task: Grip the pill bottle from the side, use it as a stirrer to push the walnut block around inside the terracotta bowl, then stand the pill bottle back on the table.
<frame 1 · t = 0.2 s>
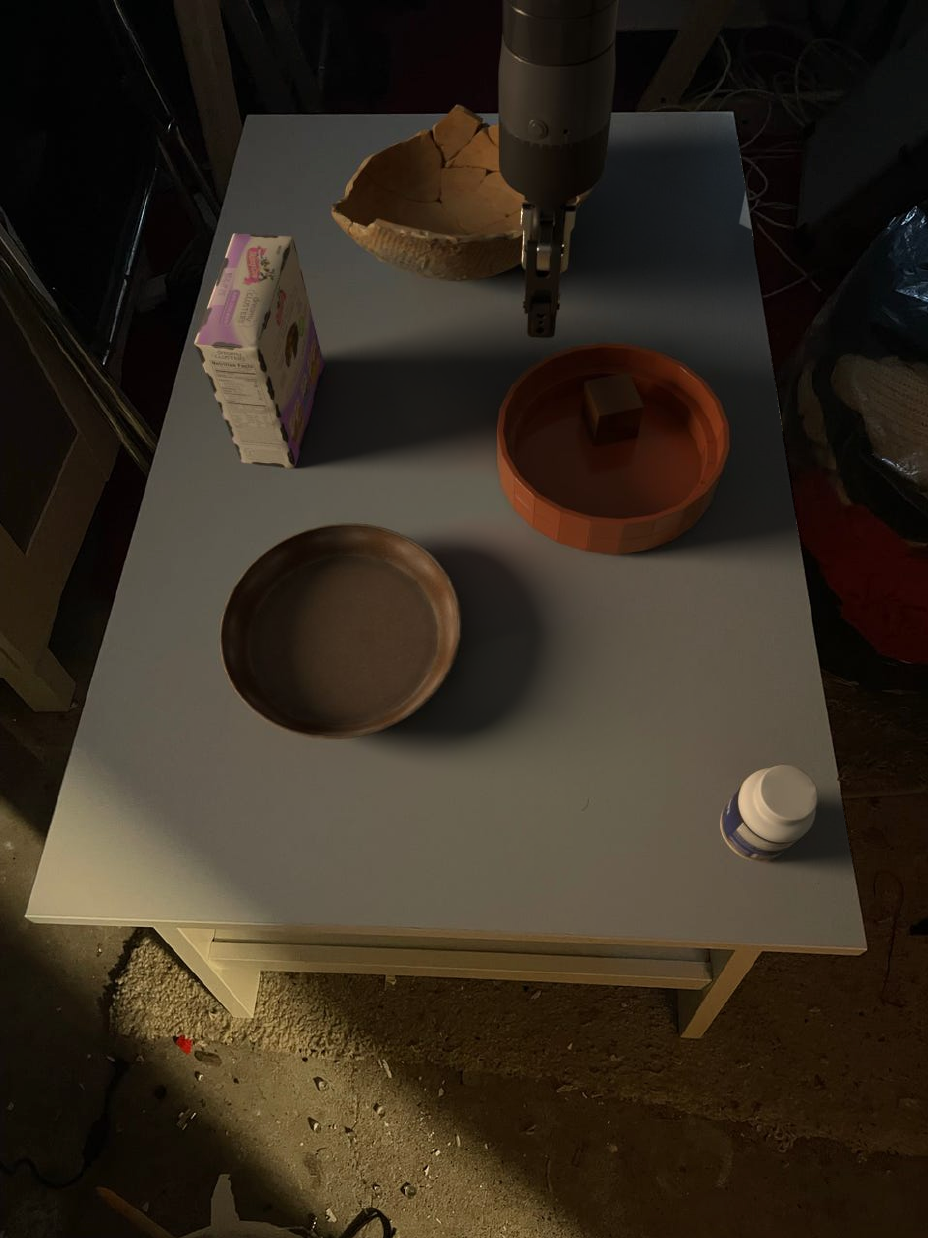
hand: (544, 296, 73), 18 cm above the table, tool pointing down, fingers open, 8 cm apart
pill bottle: (752, 828, 70), on the table
bowl: (606, 464, 87), on the table
ceramic bowl: (469, 242, 103), on the table
candy box: (284, 414, 91), on the table
block: (608, 424, 89), point 1 cm above the table, touching bowl
plant saucer: (346, 641, 79), on the table
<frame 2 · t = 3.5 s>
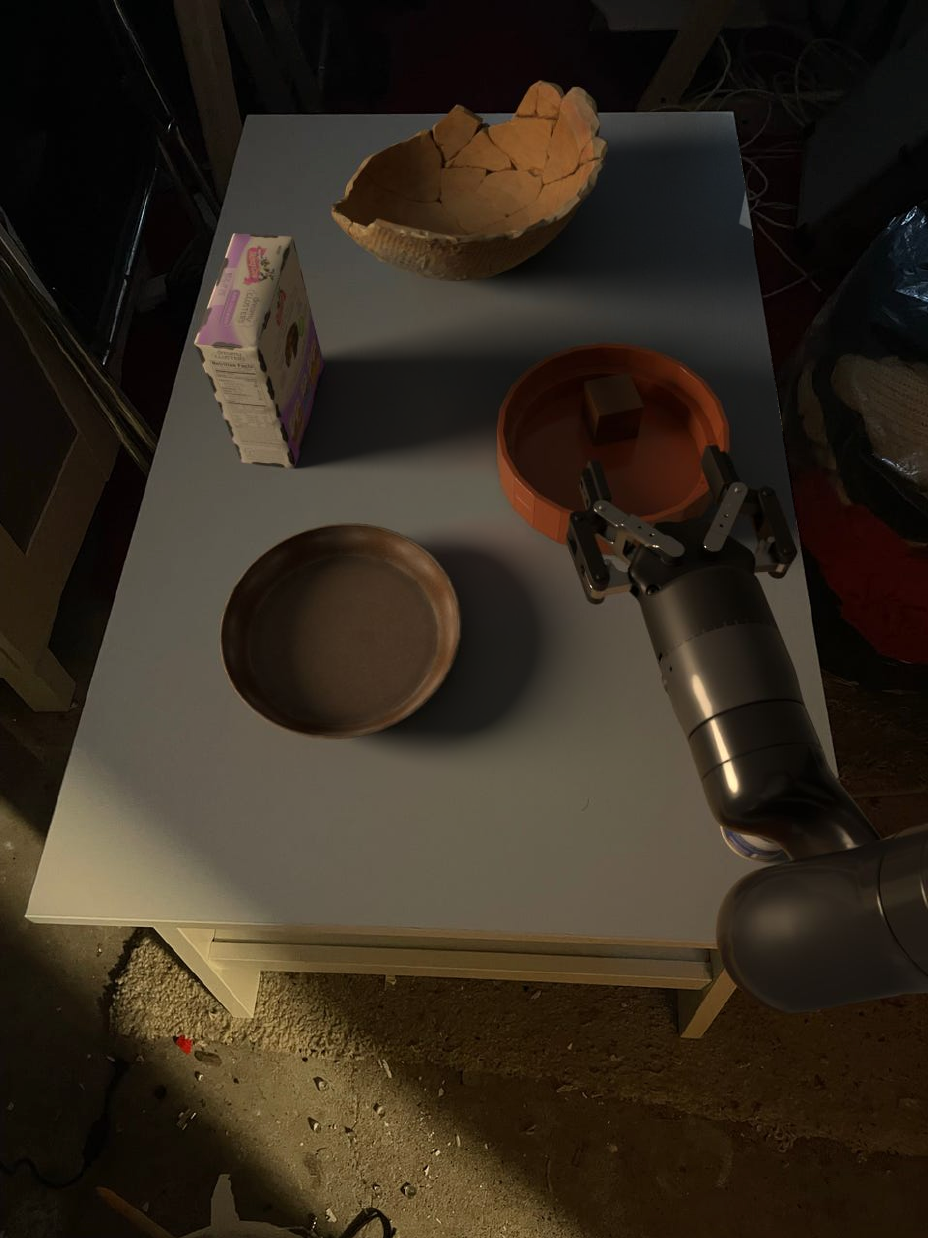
hand: (649, 459, 63), 20 cm above the table, tool horizontal, fingers open, 8 cm apart
nothing on the table moved.
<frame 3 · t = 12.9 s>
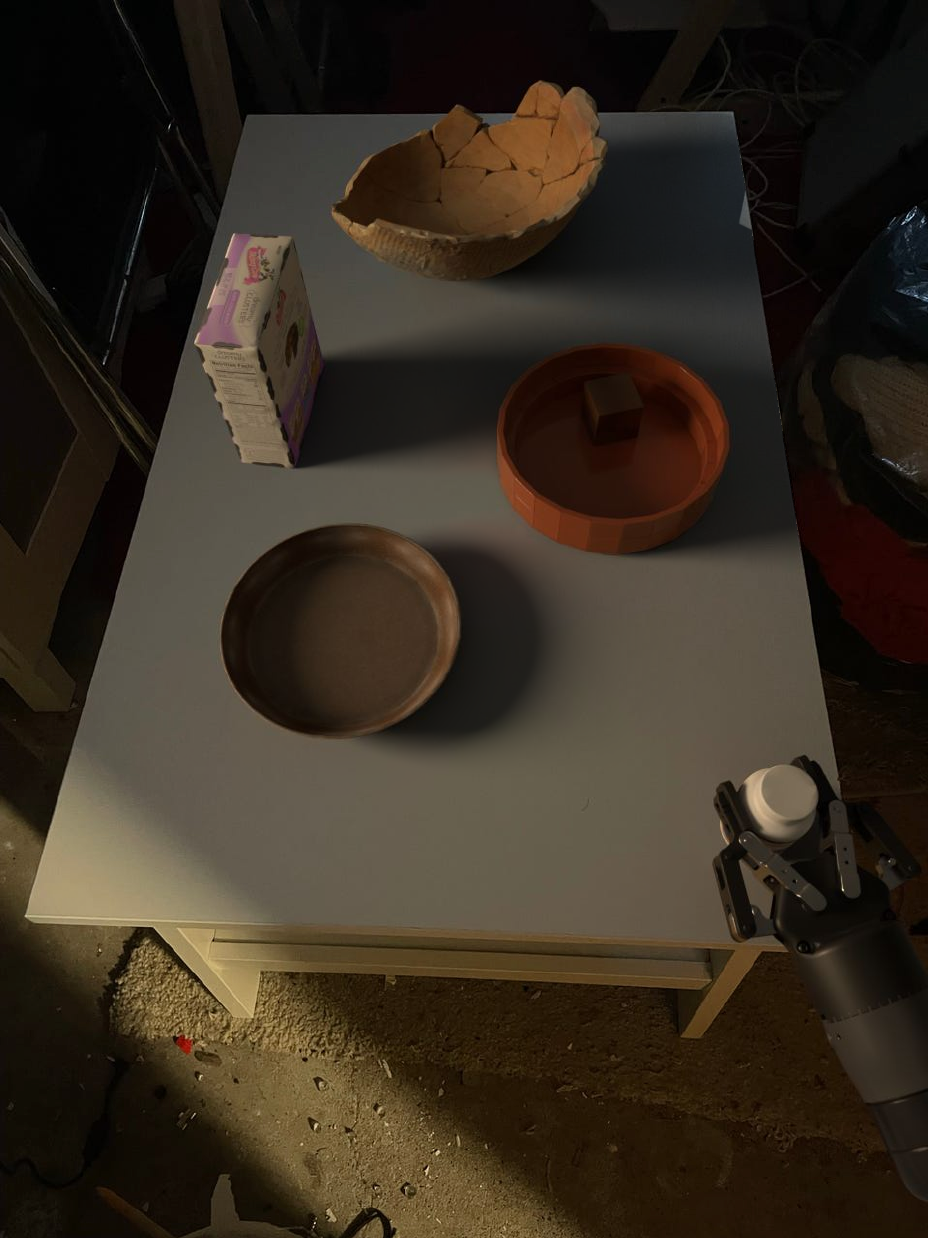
hand: (759, 773, 65), 7 cm above the table, tool horizontal, fingers closed on pill bottle, 5 cm apart
pill bottle: (752, 828, 70), on the table, touching gripper
everything else where it was.
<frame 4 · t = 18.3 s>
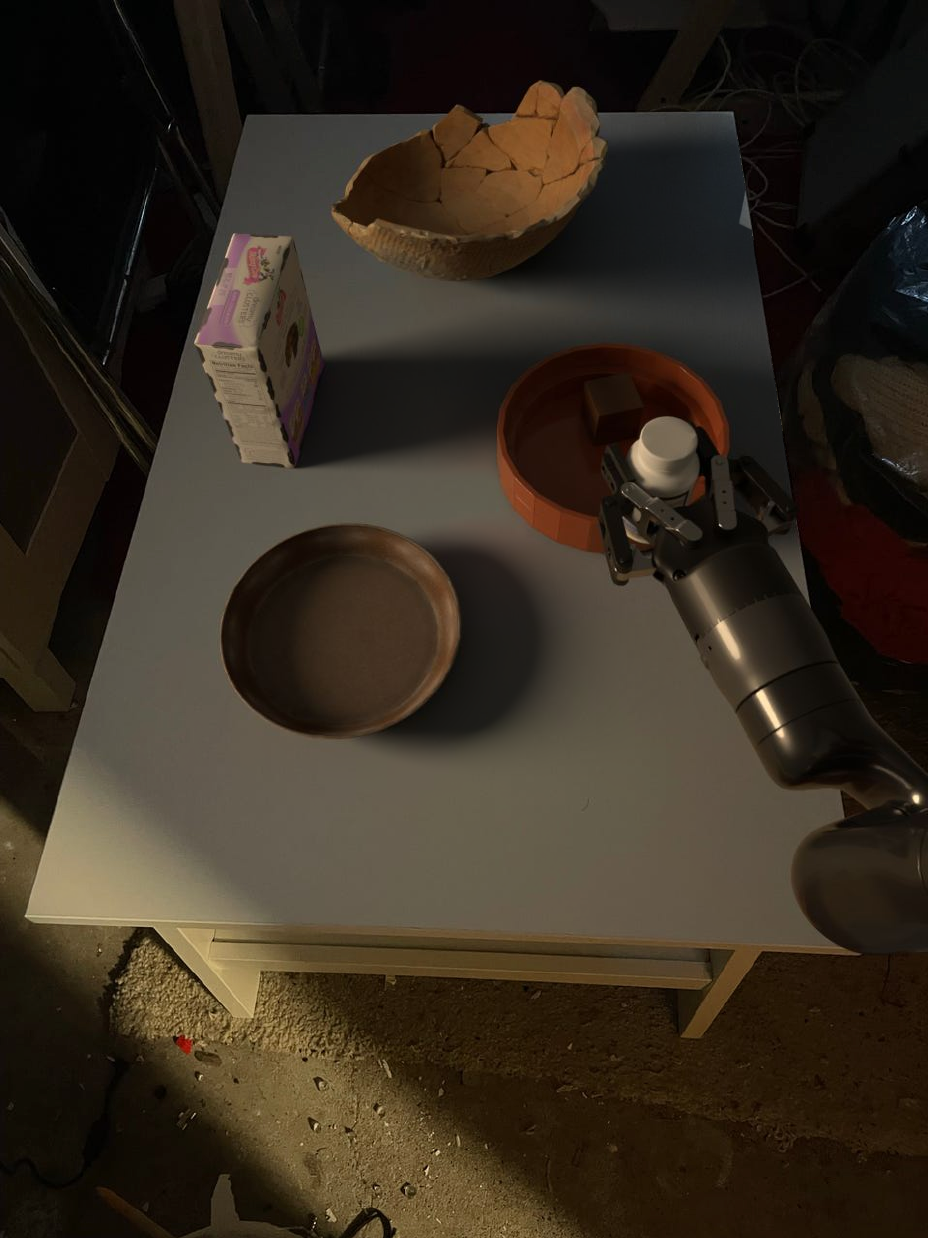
hand: (647, 441, 66), 18 cm above the table, tool horizontal, fingers closed on pill bottle, 5 cm apart
pill bottle: (647, 519, 71), point 11 cm above the table, touching gripper
everything else where it was.
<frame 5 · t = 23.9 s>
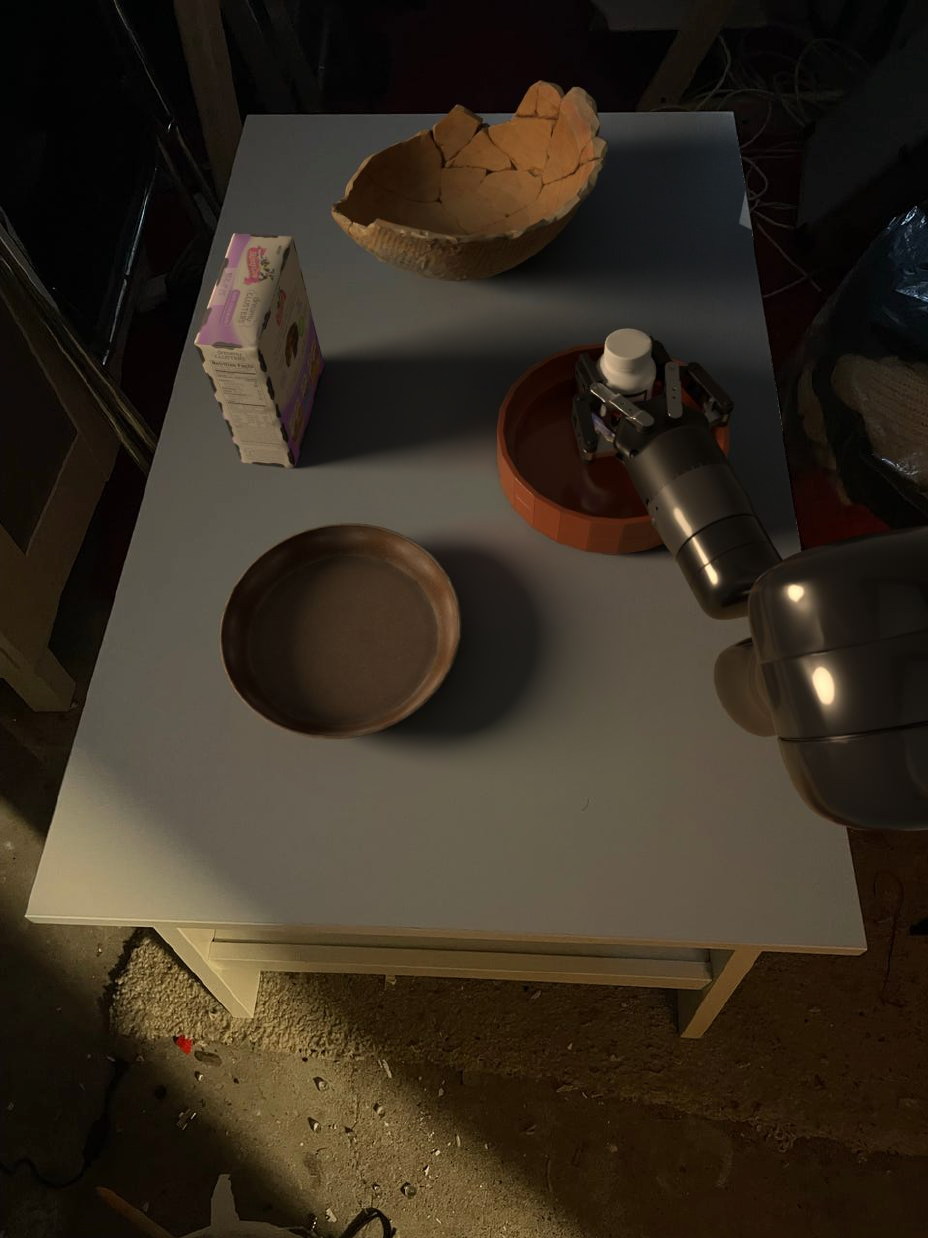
hand: (613, 352, 80), 10 cm above the table, tool horizontal, fingers closed on pill bottle, 5 cm apart
pill bottle: (618, 427, 84), point 4 cm above the table, touching block, gripper
block: (597, 409, 89), point 1 cm above the table, touching bowl, pill bottle
everything else where it was.
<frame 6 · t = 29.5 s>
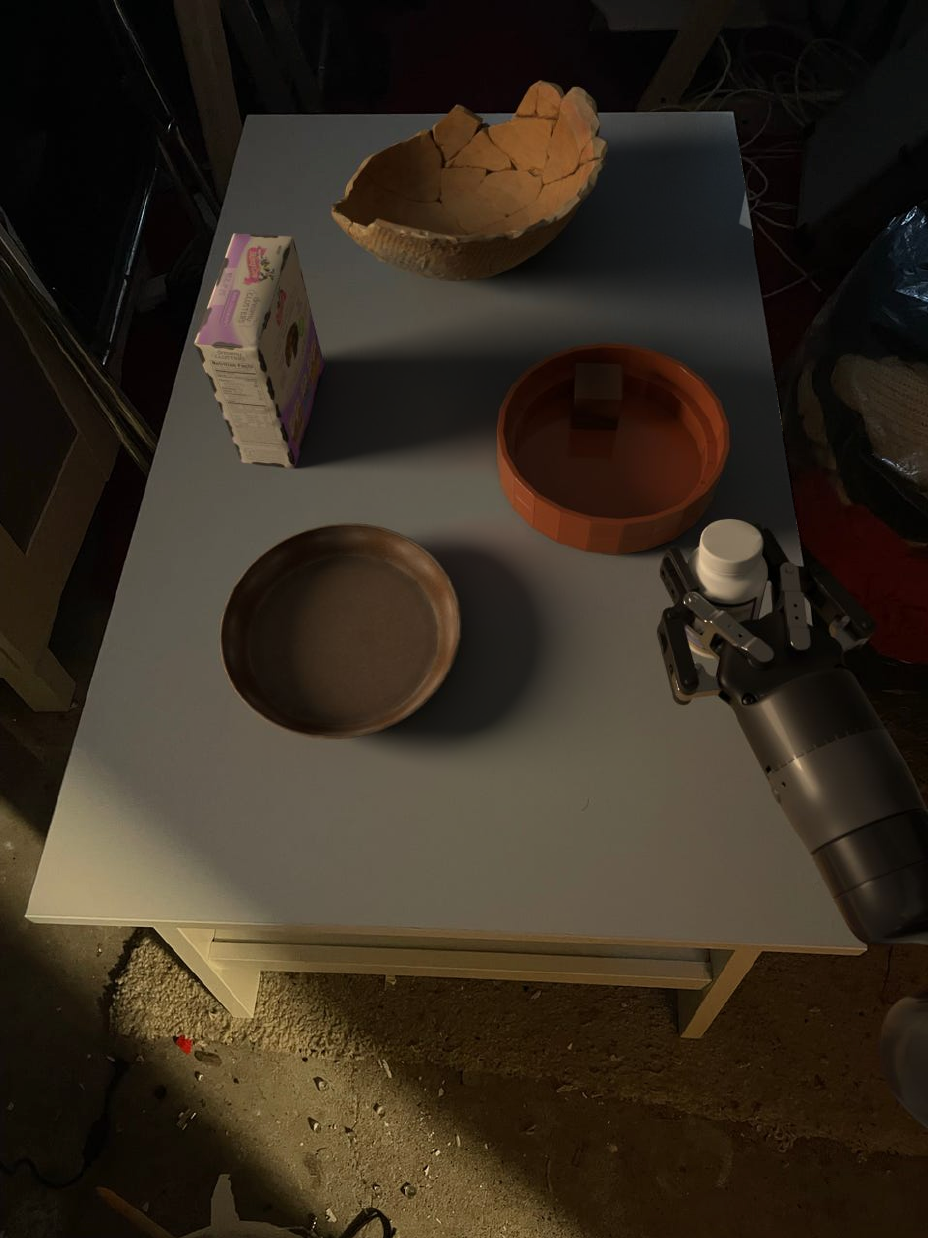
hand: (709, 542, 62), 18 cm above the table, tool horizontal, fingers closed on pill bottle, 5 cm apart
pill bottle: (715, 634, 66), point 11 cm above the table, touching gripper
block: (594, 412, 89), point 1 cm above the table, touching bowl
everything else where it was.
when the fingers open (7 cm above the table, at t = 34.6 s): pill bottle stays where it is, on the table.
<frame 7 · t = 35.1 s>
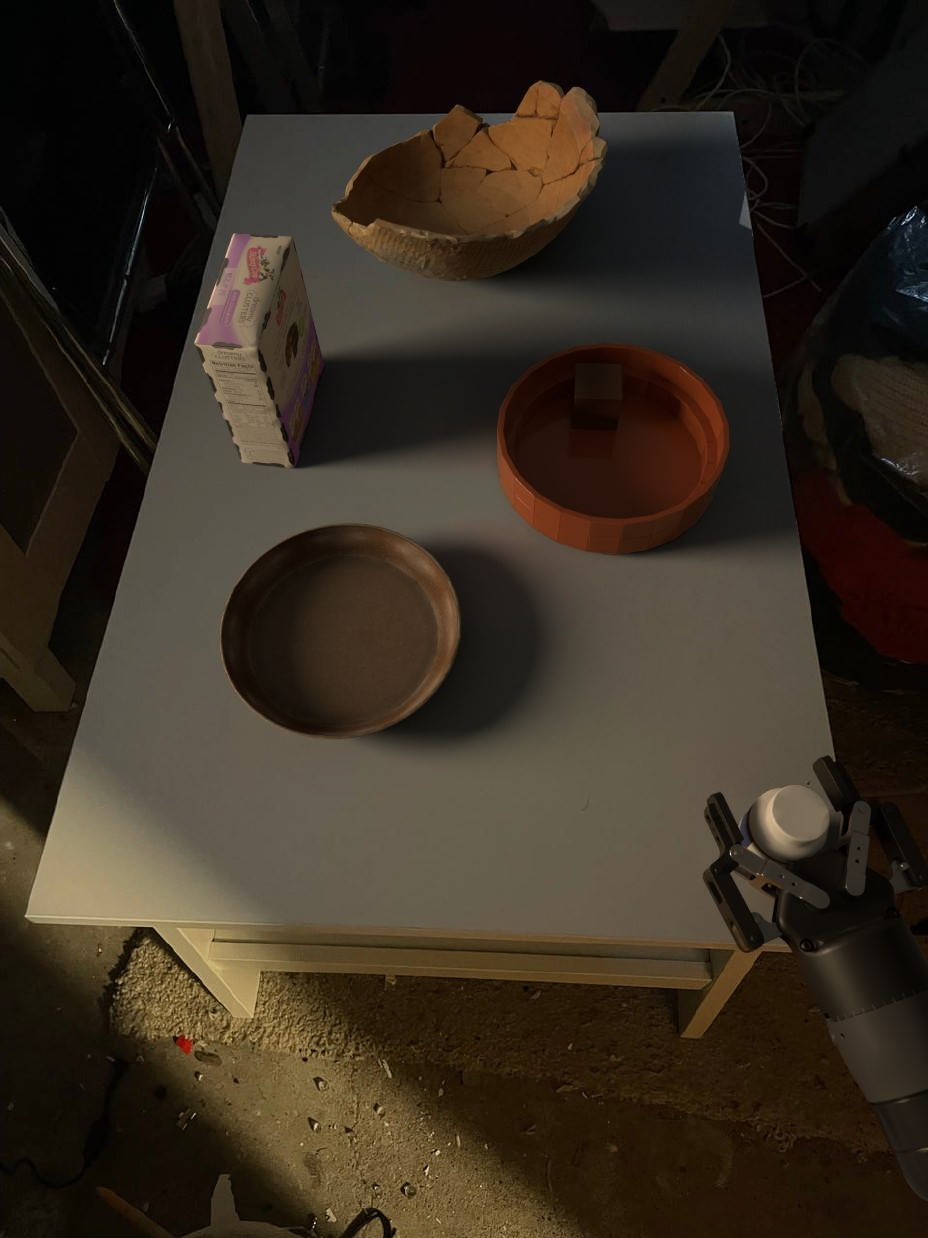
hand: (766, 777, 65), 7 cm above the table, tool horizontal, fingers open, 8 cm apart
pill bottle: (763, 849, 69), on the table
everything else where it was.
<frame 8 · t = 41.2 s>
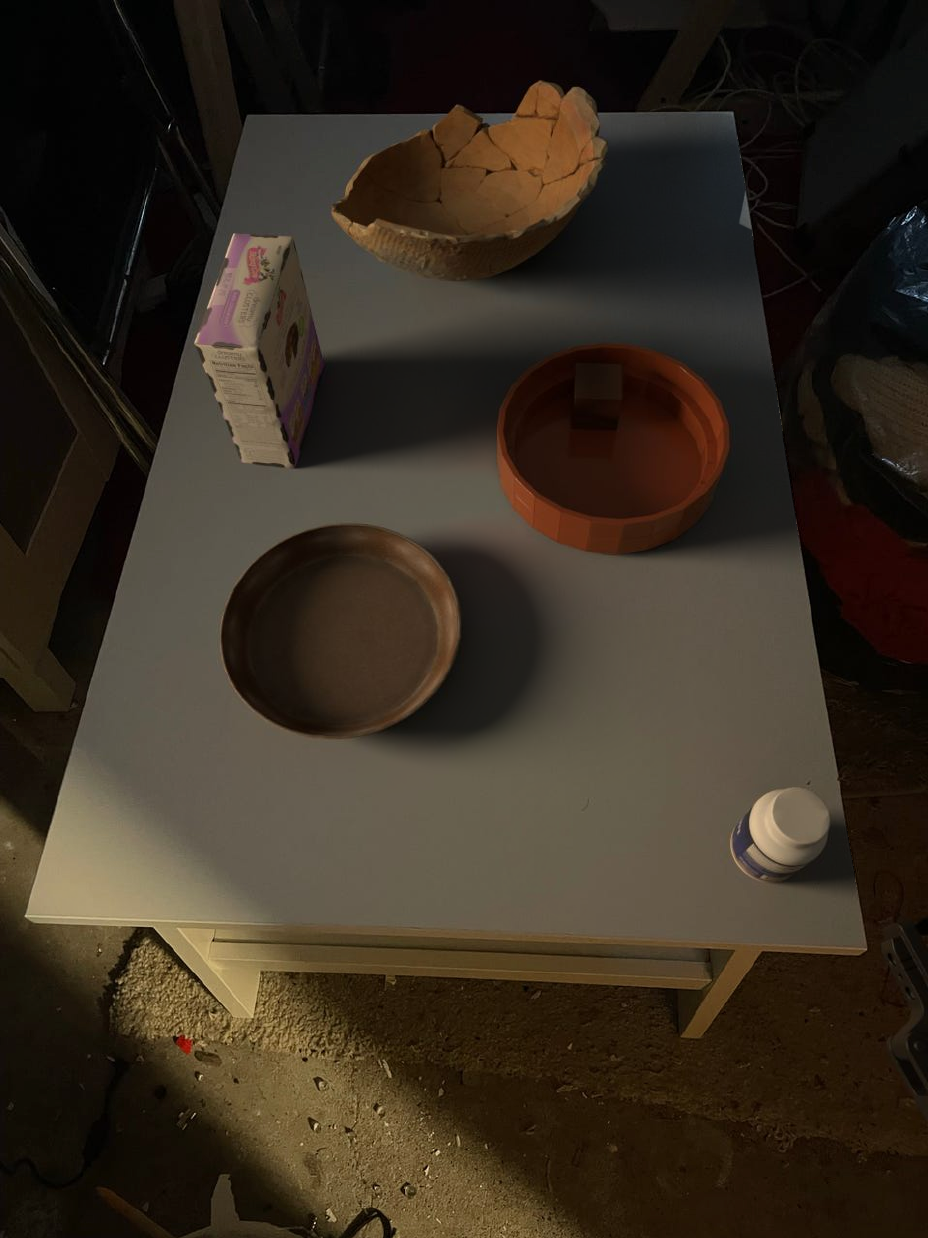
nothing on the table moved.
at the end: block moved 2.2 cm from its start; block inside the target area in the bowl (6.2 cm from its centre), point 0.6 cm above the bowl's base; pill bottle tilted 0° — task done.
